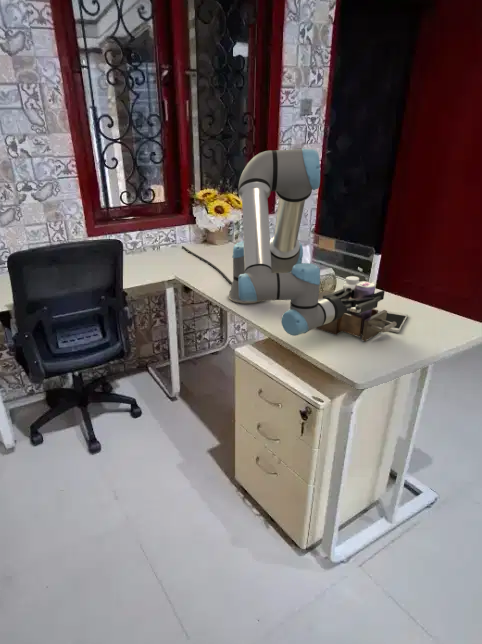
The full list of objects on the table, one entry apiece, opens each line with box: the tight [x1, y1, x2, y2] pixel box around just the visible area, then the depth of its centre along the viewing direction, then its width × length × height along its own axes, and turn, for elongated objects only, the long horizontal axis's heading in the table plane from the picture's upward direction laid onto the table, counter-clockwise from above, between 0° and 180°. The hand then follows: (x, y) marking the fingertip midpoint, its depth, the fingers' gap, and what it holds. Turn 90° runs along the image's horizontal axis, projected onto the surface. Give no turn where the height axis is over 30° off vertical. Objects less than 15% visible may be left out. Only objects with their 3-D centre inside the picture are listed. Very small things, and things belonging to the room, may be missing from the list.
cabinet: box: [316, 290, 354, 336], centre depth 144 cm, size 14×13×9 cm
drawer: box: [338, 308, 397, 342], centre depth 134 cm, size 17×12×7 cm
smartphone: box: [385, 310, 409, 333], centre depth 143 cm, size 7×16×1 cm, turn 146°
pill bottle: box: [342, 275, 360, 291], centre depth 157 cm, size 6×6×11 cm
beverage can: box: [352, 280, 376, 331], centre depth 133 cm, size 6×6×15 cm
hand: (373, 292), depth 134 cm, fingers closed on beverage can, 6 cm apart
